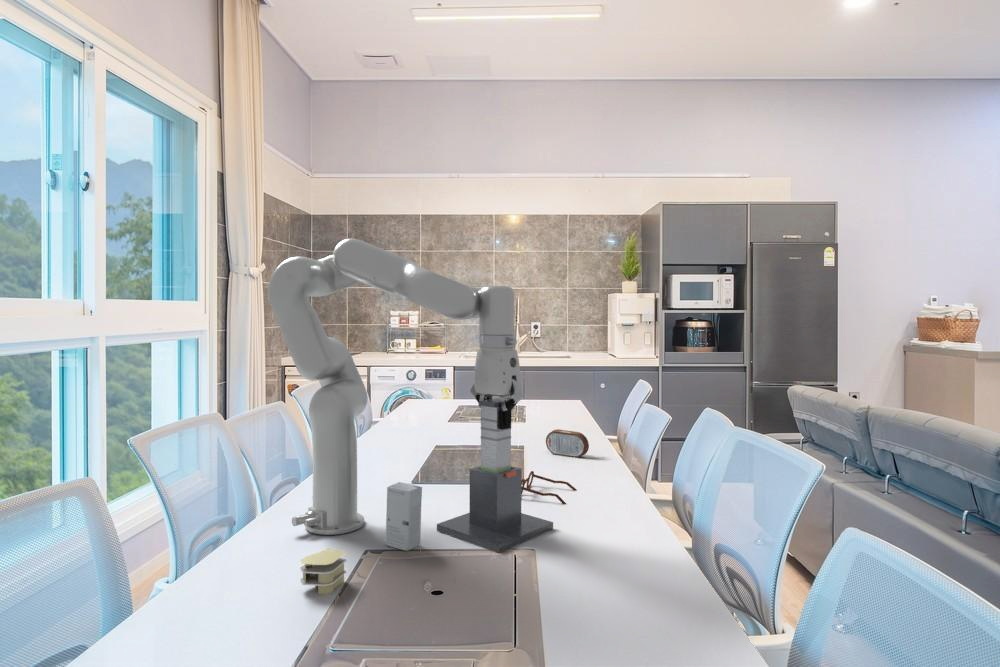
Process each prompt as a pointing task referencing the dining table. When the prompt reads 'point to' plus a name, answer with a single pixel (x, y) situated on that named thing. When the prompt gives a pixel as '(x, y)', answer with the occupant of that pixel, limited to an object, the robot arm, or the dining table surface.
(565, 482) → the glasses
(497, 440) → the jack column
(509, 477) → the base
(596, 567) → the dining table surface
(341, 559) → the beige layered block
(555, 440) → the tin
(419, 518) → the skincare box
